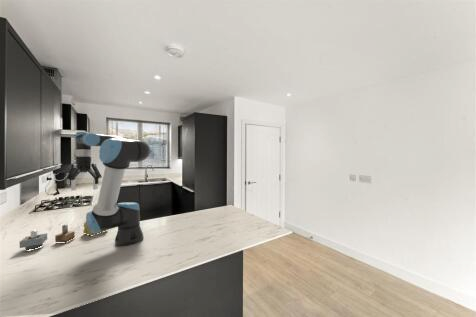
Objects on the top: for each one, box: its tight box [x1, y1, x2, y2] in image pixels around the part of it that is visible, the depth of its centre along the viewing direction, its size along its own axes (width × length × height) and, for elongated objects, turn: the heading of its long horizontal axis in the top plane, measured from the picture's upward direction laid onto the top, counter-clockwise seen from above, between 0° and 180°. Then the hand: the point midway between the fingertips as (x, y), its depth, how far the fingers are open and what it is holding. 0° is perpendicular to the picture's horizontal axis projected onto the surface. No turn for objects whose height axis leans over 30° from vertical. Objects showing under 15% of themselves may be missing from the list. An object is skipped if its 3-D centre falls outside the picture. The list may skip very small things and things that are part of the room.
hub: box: [24, 230, 44, 250], centre depth 112 cm, size 7×7×10 cm
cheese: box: [83, 221, 106, 235], centre depth 135 cm, size 10×11×10 cm
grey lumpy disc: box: [19, 233, 48, 249], centre depth 112 cm, size 9×9×4 cm
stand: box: [54, 224, 76, 243], centre depth 121 cm, size 6×6×10 cm
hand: (84, 189), depth 123 cm, fingers open, 13 cm apart
